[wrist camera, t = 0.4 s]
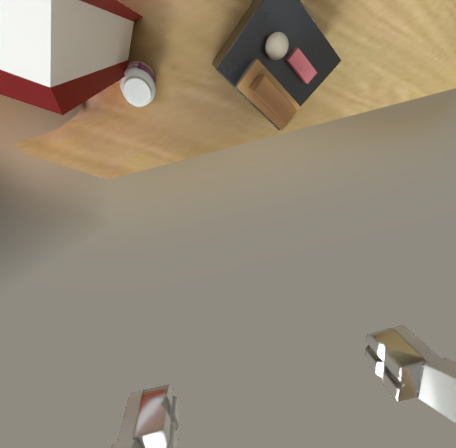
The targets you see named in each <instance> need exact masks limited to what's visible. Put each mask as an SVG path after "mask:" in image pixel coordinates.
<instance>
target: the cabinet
mask: <svg viewBox="0 0 456 448" xmlns="http://www.w3.org/2000/svg"><path fill="white" fill-rule="evenodd" d="M275 32H282V33H284V34H285V35H286V37H287V39H288V43H289V46H288V50H287V53H286V54H285V56H284V57H282V58H281V59H279V60H272V59H270V58H269V57H268V55H267V53H266V50H265V45H266V41H267V39H268V38H269V36H270V35H271V34H273V33H275ZM294 48H299V49H300V50H301V52H302V53H303V54H304V56H305V57H306V58H307V60H308V61H309V62H310V63H311V65H312V66H313V67H314V69H315V70H316V71H317V74H316V75H315V76H314V77H313V78H312V80H311V81H310V82H309V83H308V84H306V83H304V82H303V81H302V80H301V78H300V77H299V76H298V75H297V74H296V72H295V71H294V70H293V69H292V68H291V66H290V65H289V64H288V63H287V62H286V60H285V59H286V58H287V57H288V56H289V54H290V53H291V52H292V50H293V49H294ZM255 58H256V59H258V60H259V61H260V62H261V63H262V64H263V65H264V66H265V68H266V69H267V70H268V71H269V72H270V73H271V74H272V75H273V76H274V78H275V79H276V80H277V81H278V82H279V83H280V84H281V85H282V86H283V88H284V89H285V90H286V91H287V92H288V93H289V94H290V95H291V96H292V98H293V99H294V100H295V101H296V102H297V103H298V104H299V105H300V106H301V105H302V104H303V103H304V102H305V101H306V100H307V99H308V97H309V96H310V95H311V94H312V93H313V92H314V91H315V89H316V88H317V87H318V86H319V85H320V84H321V83H322V82H323V80H324V79H325V78H326V77H327V76H328V75H329V74H330V73H331V71H332V70H333V69H334V68H335V67H336V66H337V65H338V63H339V62H340V61H341V60H340V58H339V57H338V55H337V54H336V52H335V51H334V50H333V48H332V47H331V45H330V44H329V42H328V41H327V39H326V38H325V36H324V35H323V34H322V31H321V30H320V28H319V27H318V25H317V24H316V22H315V21H314V19H313V18H312V17H311V15H310V14H309V12H308V11H307V9H306V8H305V6H304V5H303V4H302V3H301V2H300V0H254V1H253V3H252V4H251V6H250V7H249V9H248V10H247V12H246V13H245V15H244V16H243V18H242V19H241V21H240V22H239V24H238V25H237V27H236V28H235V30H234V31H233V33H232V34H231V36H230V37H229V39H228V40H227V42H226V43H225V45H224V46H223V48H222V49H221V51H220V52H219V54H218V55H217V57H216V58H215V60H214V61H213V63H212V65H213V66H214V67H215V68H216V70H217V71H218V72H219V73H220V74H221V75H222V76H223V77H224V78H225V79H226V80H227V81H229V82H230V83H231V84H232V85H233V86H234V87H235V88H236V89H237V90H238V91H239V92H240V93H241V94H242V95H243V96H244V97H245V98H246V99H247V100H248V101H249V102H250V103H251V104H252V105H253V106H254V107H255V108H256V109H257V110H259V111H260V112H261V113H262V114H263V115H264V116H265V117H266V118H267V119H268V120H269V121H270V122H271V123H272V124H273V125H274V126H275V127H276V128H277V129H278V130H280V129H279V128H278V127H277V126H276V125H275V124H274V123H273V122H272V121H271V120H270V119H269V118H268V117H267V116H266V115H265V114H264V113H263V112H262V111H261V110H260V109H259V108H258V107H257V106H256V105H255V104H253V103H252V102H251V101H250V100H249V99H248V98H247V97H246V96H245V95H244V94H243V93H242V92H241V91H240V90H239V89H238V88H237V87H236V84H235V83H236V81H237V80H238V79H239V77H240V76H241V75H242V73H243V72H244V70H245V69H246V68H247V66H248V65H249V64H250V62H251V61H252V60H255Z"/></svg>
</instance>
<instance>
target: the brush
mask: <svg viewBox="0 0 456 448" xmlns="http://www.w3.org/2000/svg"><path fill="white" fill-rule="evenodd" d="M235 84H236V87H237V88H238V89H239V90H240V91H241V92H242V93H243V94H244V95H245V96H246V97H247V98H248V99H249V100H250V101H251V102H252V103H253V104H255V105H256V106H257V107H258V108H259V109H260V110H261V111H262V112H263V113H264V114H265V115H266V116H267V117H268V118H269V119H270V120H271V121H272V122H273V123H274V124H275V125H276V126H277V127H278V128H279V129H280V130H282V129H283V128H284V127H285V126H286V125H287V124H288V123H289V122H290V120H291V119H292V118H293V117H294V116H295V115H296V114H297V113H298V111H299V110H300V109H301V106H300V105H299V104H298V103H297V102H296V101H295V100H294V99H293V98H292V96H291V95H290V94H289V93H288V92H287V91H286V90H285V89H284V88H283V86H282V85H281V84H280V83H279V82H278V81H277V80H276V79H275V78H274V76H273V75H272V74H271V73H270V72H269V71H268V70H267V69H266V68H265V66H264V65H263V64H262V63H261V62H260V61H259V60H258V59H256V58H255V60H252V61H251V62H250V64H249V65H248V66H247V68H246V69H245V70H244V72H243V73H242V75H241V76H240V77H239V79H238V80H237V81H236V83H235Z"/></svg>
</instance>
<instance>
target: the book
mask: <svg viewBox="0 0 456 448" xmlns="http://www.w3.org/2000/svg"><path fill="white" fill-rule="evenodd" d="M141 17H142V16H141V15H139V14H137V13H136V12H134V11H133V10H131V9H129V8H128V7H126V6H124V5H123V4H121V3H119V2H118V1H116V0H0V94H1V95H4V96H7V97H10V98H13V99H16V100H19V101H22V102H25V103H28V104H31V105H34V106H37V107H40V108H43V109H46V110H50V111H52V112H55V113H59V114H61V115H64V114H65V113H67V112H68V111H70V110H72V109H73V108H75V107H77V106H78V105H80V104H81V103H83V102H85V101H86V100H88V99H89V98H91V97H93V96H94V95H96V94H98V93H99V92H101V91H102V90H104V89H106V88H107V87H109V86H110V85H112V84H114V83H115V82H117V81H118V80H120V79H122V78H123V77H125V75H124V72H125V70H126V68H127V66H128V64H129V61H128V57H129V50H130V44H131V37H132V31H133V24H134V21H136V20H138V19H139V18H141Z"/></svg>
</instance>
